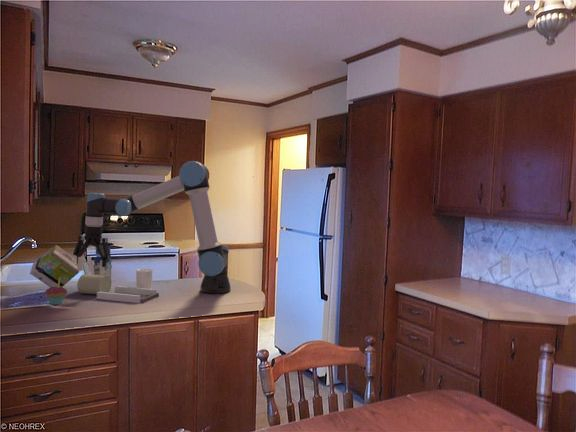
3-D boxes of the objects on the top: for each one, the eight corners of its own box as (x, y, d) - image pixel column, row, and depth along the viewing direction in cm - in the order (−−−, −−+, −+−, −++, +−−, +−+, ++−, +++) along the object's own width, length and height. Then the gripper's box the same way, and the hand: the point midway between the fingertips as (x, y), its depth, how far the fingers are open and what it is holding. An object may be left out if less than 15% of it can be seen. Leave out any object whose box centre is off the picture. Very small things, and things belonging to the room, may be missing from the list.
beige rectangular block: (111, 273, 203) (89, 271, 205) (99, 278, 194) (75, 276, 196) (111, 292, 204) (89, 290, 206) (99, 297, 195) (76, 295, 197)
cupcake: (71, 302, 185) (72, 274, 184) (56, 306, 176) (57, 277, 176) (54, 300, 186) (55, 273, 186) (39, 304, 178) (39, 276, 178)
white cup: (149, 292, 209) (149, 271, 208) (133, 291, 209) (133, 271, 208) (154, 288, 216) (154, 269, 216) (139, 288, 217) (139, 268, 216)
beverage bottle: (114, 286, 219) (115, 247, 218) (104, 289, 210) (105, 249, 209) (99, 285, 220) (100, 246, 219) (89, 288, 212) (90, 248, 211)
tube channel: (156, 295, 202) (156, 289, 202) (139, 303, 187) (139, 296, 187) (116, 292, 206) (116, 285, 206) (96, 298, 192) (96, 292, 191)
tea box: (28, 274, 194) (53, 252, 194) (32, 264, 202) (55, 243, 202) (56, 292, 201) (80, 271, 202) (58, 282, 210) (81, 262, 210)
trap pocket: (158, 296, 201) (158, 292, 201) (143, 302, 188) (143, 299, 188) (147, 295, 202) (147, 291, 202) (131, 301, 189) (131, 298, 189)
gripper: (121, 227, 200) (117, 273, 201) (77, 223, 205) (74, 268, 206) (111, 228, 193) (108, 276, 194) (66, 223, 198) (63, 270, 199)
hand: (90, 272), depth 200 cm, fingers open, 11 cm apart
